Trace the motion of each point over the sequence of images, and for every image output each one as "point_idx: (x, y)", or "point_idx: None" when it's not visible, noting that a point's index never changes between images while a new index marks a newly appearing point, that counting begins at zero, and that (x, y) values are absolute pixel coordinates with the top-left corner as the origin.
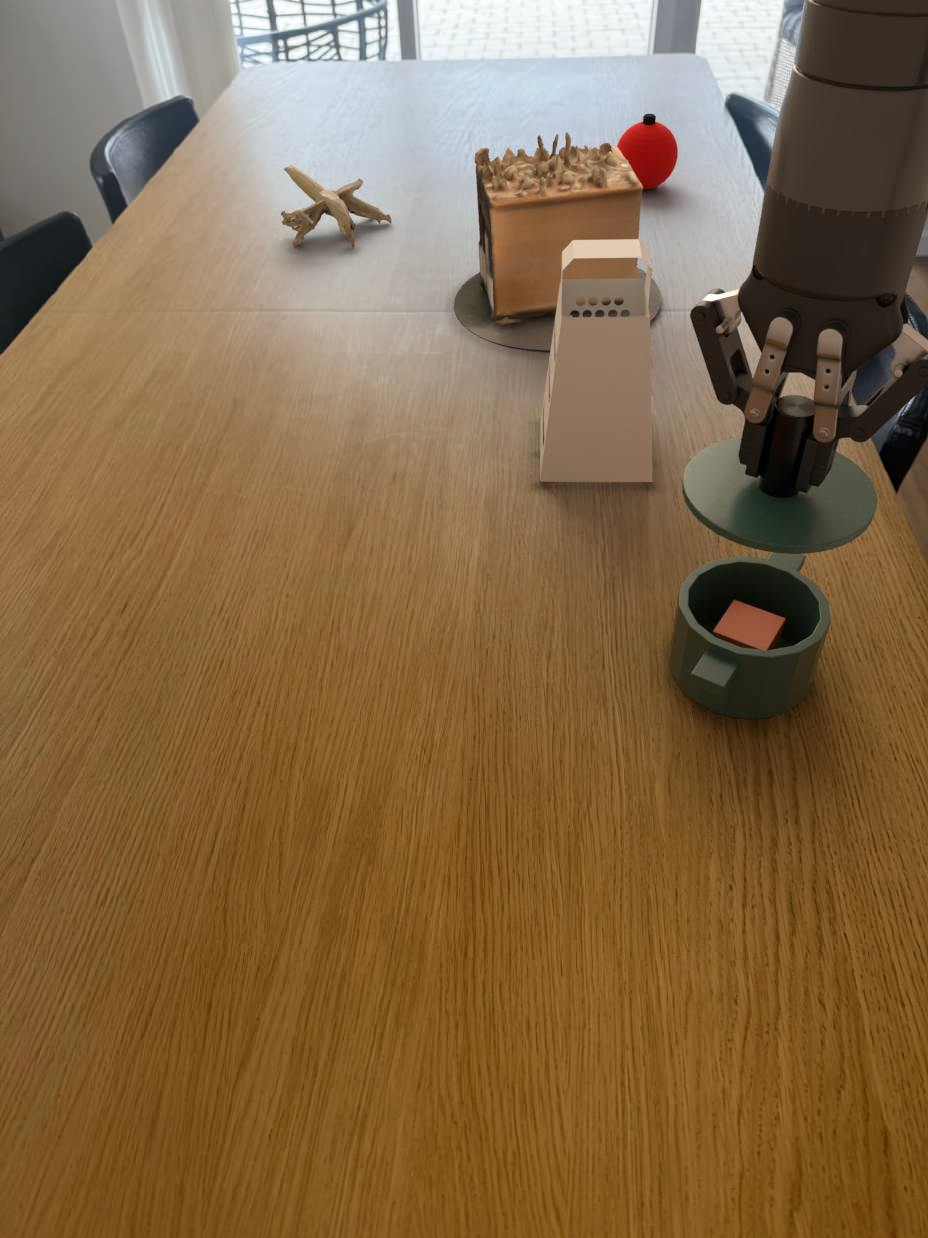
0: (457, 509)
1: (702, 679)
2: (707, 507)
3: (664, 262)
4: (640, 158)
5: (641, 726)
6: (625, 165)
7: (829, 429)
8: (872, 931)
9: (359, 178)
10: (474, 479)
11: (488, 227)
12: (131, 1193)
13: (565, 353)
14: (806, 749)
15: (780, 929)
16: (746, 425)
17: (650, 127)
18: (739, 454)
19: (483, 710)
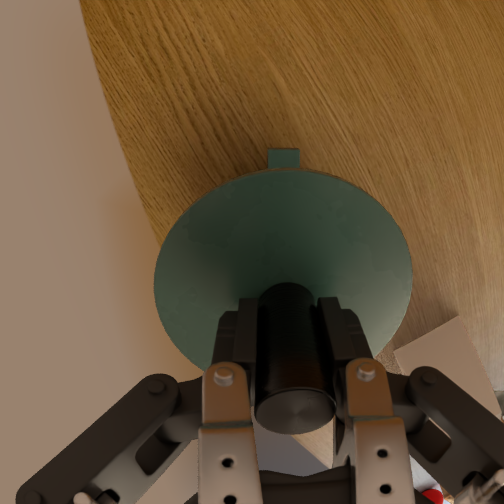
0: (497, 264)
1: (288, 149)
2: (363, 212)
3: (413, 470)
4: (432, 500)
5: (319, 129)
6: (452, 501)
7: (214, 384)
8: (121, 68)
9: None
10: (492, 294)
11: None
12: None
13: (487, 393)
14: (205, 173)
15: (165, 34)
16: (368, 354)
17: None
18: (356, 317)
19: (421, 92)
